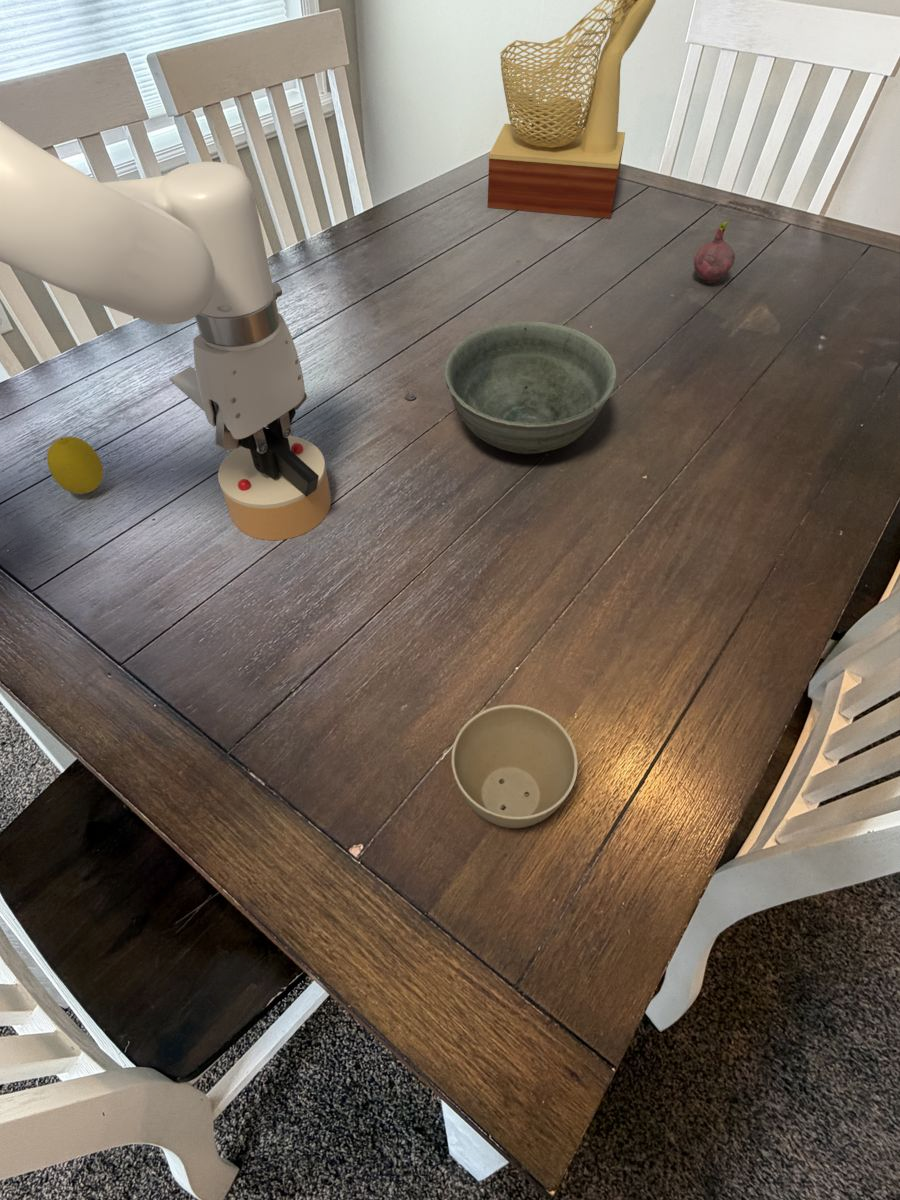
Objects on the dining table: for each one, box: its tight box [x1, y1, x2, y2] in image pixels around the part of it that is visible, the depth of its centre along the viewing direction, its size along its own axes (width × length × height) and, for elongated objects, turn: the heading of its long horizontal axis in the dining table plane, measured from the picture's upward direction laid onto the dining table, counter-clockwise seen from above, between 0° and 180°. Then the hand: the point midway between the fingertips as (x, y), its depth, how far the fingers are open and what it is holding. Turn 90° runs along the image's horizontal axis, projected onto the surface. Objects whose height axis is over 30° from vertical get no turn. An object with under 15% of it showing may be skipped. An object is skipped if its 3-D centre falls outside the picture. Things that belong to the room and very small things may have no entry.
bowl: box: [443, 320, 617, 455], centre depth 91 cm, size 21×21×10 cm
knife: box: [168, 366, 319, 497], centre depth 80 cm, size 3×21×3 cm, turn 51°
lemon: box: [46, 436, 104, 495], centre depth 86 cm, size 6×6×8 cm
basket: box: [487, 0, 657, 219], centre depth 128 cm, size 25×18×35 cm
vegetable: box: [693, 221, 736, 284], centre depth 116 cm, size 6×6×10 cm
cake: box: [217, 435, 332, 541], centre depth 85 cm, size 12×12×6 cm
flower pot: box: [451, 704, 579, 829], centre depth 61 cm, size 10×10×7 cm
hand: (274, 467), depth 82 cm, fingers closed on knife, 1 cm apart
